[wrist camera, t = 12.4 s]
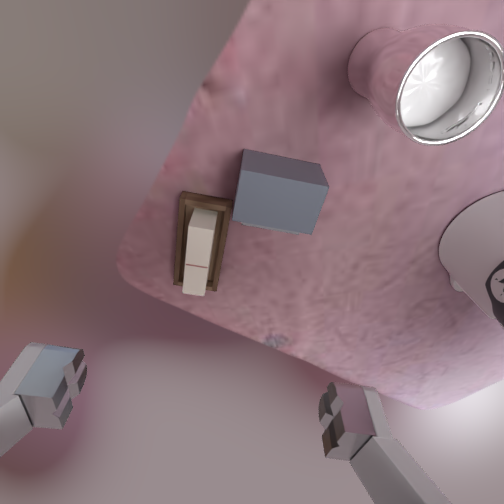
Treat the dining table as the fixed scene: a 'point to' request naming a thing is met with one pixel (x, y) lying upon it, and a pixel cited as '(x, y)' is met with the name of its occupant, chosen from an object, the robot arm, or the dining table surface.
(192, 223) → the white slab
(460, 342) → the dining table surface
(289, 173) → the block
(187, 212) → the tray
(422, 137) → the beer glass
